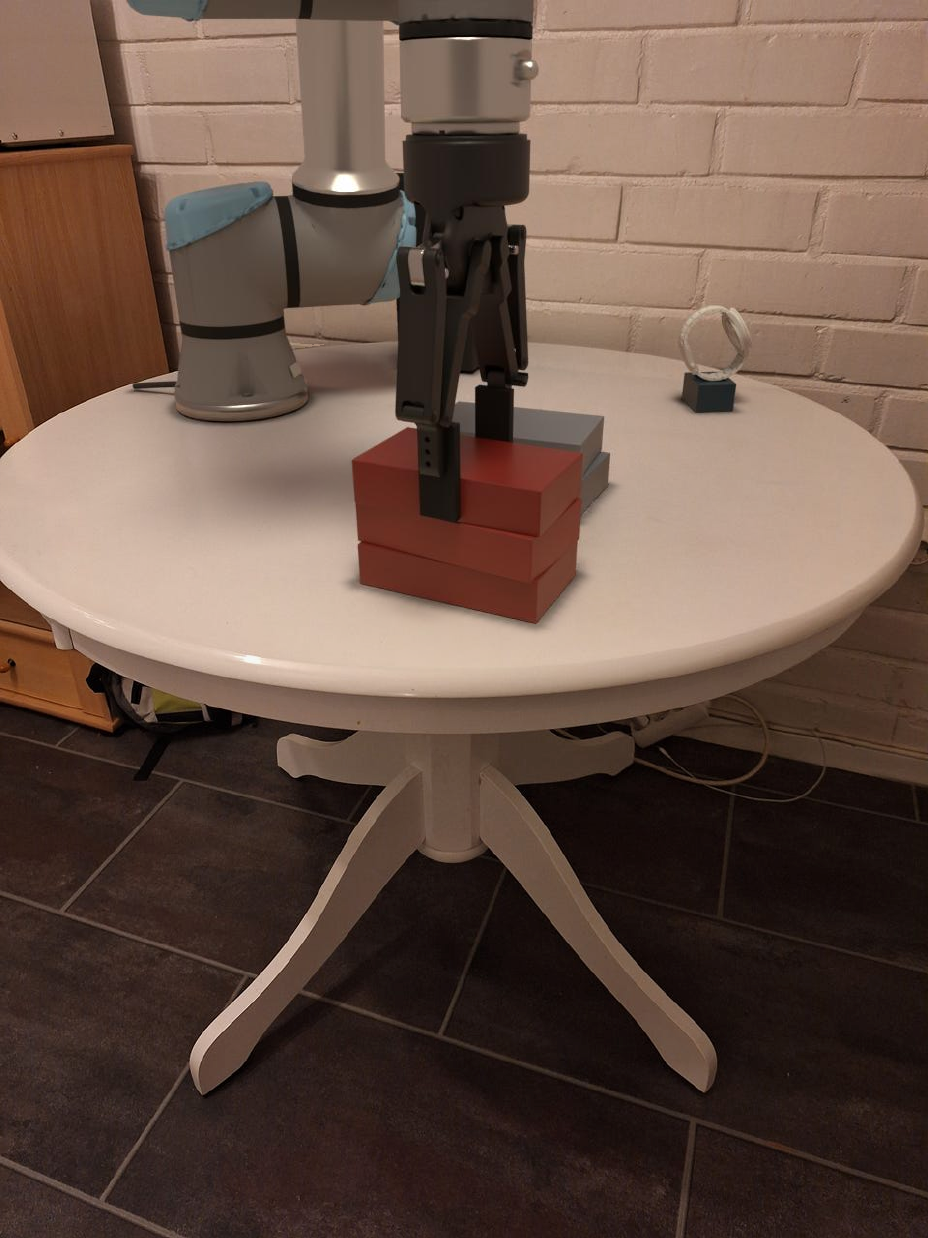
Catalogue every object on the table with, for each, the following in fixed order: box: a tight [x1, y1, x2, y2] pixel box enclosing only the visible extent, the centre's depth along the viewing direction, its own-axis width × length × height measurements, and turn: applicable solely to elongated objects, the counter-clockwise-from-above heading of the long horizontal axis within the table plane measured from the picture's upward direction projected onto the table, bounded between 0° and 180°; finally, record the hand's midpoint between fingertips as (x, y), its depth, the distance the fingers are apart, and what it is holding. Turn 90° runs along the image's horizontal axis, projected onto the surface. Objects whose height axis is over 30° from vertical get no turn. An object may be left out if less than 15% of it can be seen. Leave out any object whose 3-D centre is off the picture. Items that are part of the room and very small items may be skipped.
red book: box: [351, 426, 583, 537], centre depth 64 cm, size 14×8×3 cm, turn 64°
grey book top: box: [452, 400, 605, 476], centre depth 81 cm, size 14×8×3 cm, turn 69°
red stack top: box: [354, 498, 582, 584], centre depth 65 cm, size 14×8×3 cm, turn 60°
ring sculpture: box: [677, 304, 754, 413], centre depth 103 cm, size 6×8×11 cm
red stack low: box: [357, 540, 579, 624], centre depth 67 cm, size 14×8×3 cm, turn 64°
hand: (468, 494), depth 64 cm, fingers closed on red book, 8 cm apart
